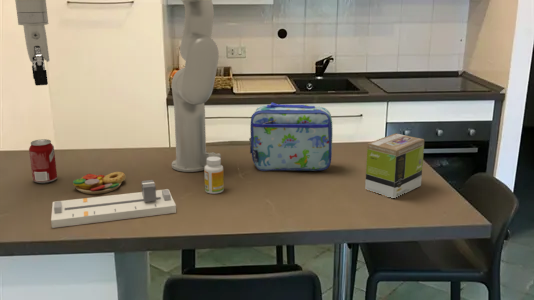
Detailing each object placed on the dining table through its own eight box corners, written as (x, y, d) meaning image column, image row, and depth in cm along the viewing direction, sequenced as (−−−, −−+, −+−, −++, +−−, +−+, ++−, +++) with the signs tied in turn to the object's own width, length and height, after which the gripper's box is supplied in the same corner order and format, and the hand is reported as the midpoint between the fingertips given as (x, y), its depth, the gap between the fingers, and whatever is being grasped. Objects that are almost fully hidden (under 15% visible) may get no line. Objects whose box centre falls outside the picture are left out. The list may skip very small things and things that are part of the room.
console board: (168, 195, 150) (168, 184, 149) (176, 212, 139) (175, 200, 138) (53, 208, 140) (52, 196, 139) (51, 228, 129) (50, 214, 128)
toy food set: (130, 181, 161) (129, 171, 160) (111, 198, 149) (110, 187, 148) (89, 178, 163) (88, 168, 162) (66, 194, 151) (65, 183, 150)
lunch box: (248, 171, 169) (248, 106, 163) (252, 161, 180) (252, 99, 173) (331, 175, 167) (334, 109, 161) (330, 164, 177) (333, 102, 171)
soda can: (49, 185, 156) (44, 145, 153) (28, 183, 158) (23, 144, 154) (62, 177, 163) (57, 139, 159) (41, 175, 164) (37, 138, 160)
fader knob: (153, 193, 144) (153, 179, 143) (156, 200, 140) (155, 185, 139) (142, 195, 143) (141, 180, 142) (144, 202, 139) (143, 187, 138)
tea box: (392, 178, 165) (396, 131, 161) (421, 187, 158) (426, 138, 154) (363, 190, 155) (366, 141, 151) (393, 200, 148) (397, 149, 144)
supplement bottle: (226, 188, 155) (226, 156, 152) (219, 195, 150) (218, 162, 148) (209, 186, 157) (209, 154, 154) (201, 192, 152) (200, 160, 149)
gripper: (50, 20, 138) (57, 86, 144) (45, 16, 153) (52, 76, 159) (18, 21, 135) (27, 88, 141) (17, 17, 150) (24, 78, 155)
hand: (40, 82), depth 150 cm, fingers open, 9 cm apart
